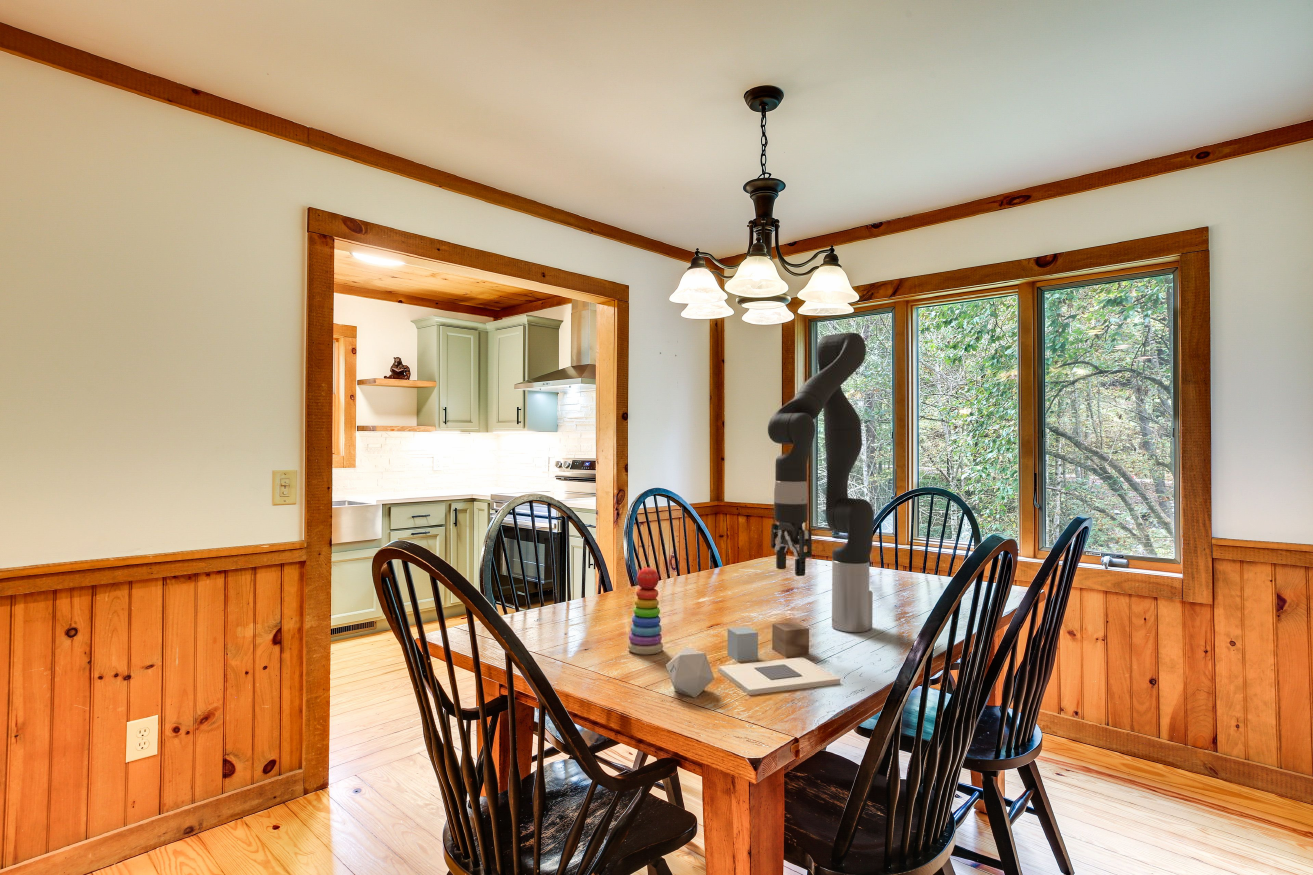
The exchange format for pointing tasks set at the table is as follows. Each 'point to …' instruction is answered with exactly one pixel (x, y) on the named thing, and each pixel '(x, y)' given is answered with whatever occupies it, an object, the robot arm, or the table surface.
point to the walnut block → (790, 639)
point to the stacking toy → (646, 616)
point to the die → (690, 672)
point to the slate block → (742, 644)
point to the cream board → (777, 675)
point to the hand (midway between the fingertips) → (790, 572)
